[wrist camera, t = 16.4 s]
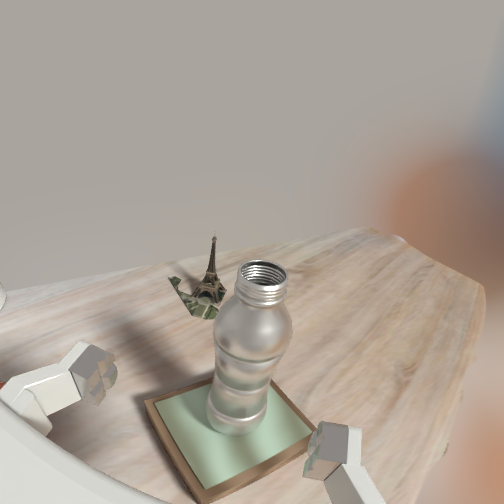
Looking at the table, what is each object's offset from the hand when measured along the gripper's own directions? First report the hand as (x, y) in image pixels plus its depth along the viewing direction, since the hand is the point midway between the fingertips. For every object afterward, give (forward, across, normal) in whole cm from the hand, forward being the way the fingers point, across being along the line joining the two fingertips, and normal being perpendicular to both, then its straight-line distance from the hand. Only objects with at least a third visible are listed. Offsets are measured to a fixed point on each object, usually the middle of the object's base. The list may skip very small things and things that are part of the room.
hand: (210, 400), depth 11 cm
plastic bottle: (+13, 0, -22) cm, 26 cm away
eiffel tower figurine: (+38, -13, -26) cm, 48 cm away
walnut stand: (+12, 0, -25) cm, 28 cm away
